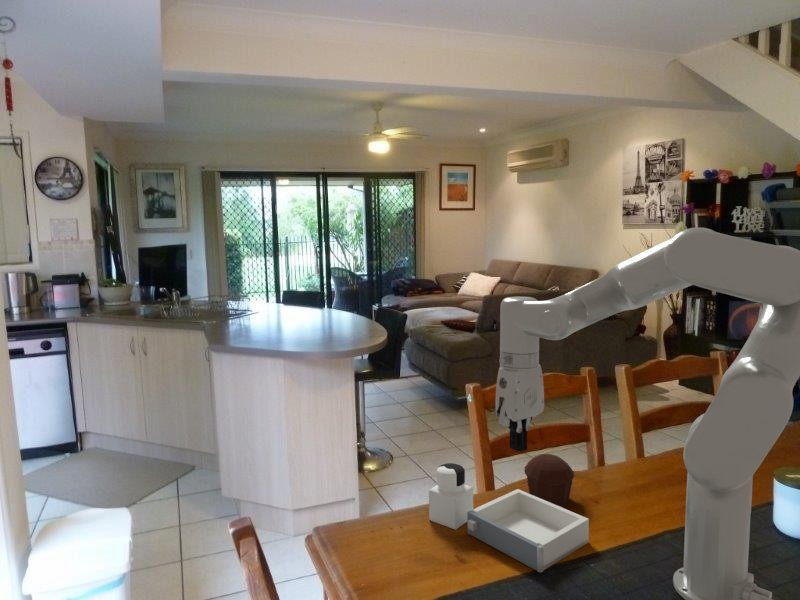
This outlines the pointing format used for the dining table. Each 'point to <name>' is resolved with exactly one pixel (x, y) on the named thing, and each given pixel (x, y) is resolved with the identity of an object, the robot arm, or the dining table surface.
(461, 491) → the medicine bottle
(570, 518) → the case
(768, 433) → the robot arm
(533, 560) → the side door
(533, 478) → the muffin
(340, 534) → the dining table surface
